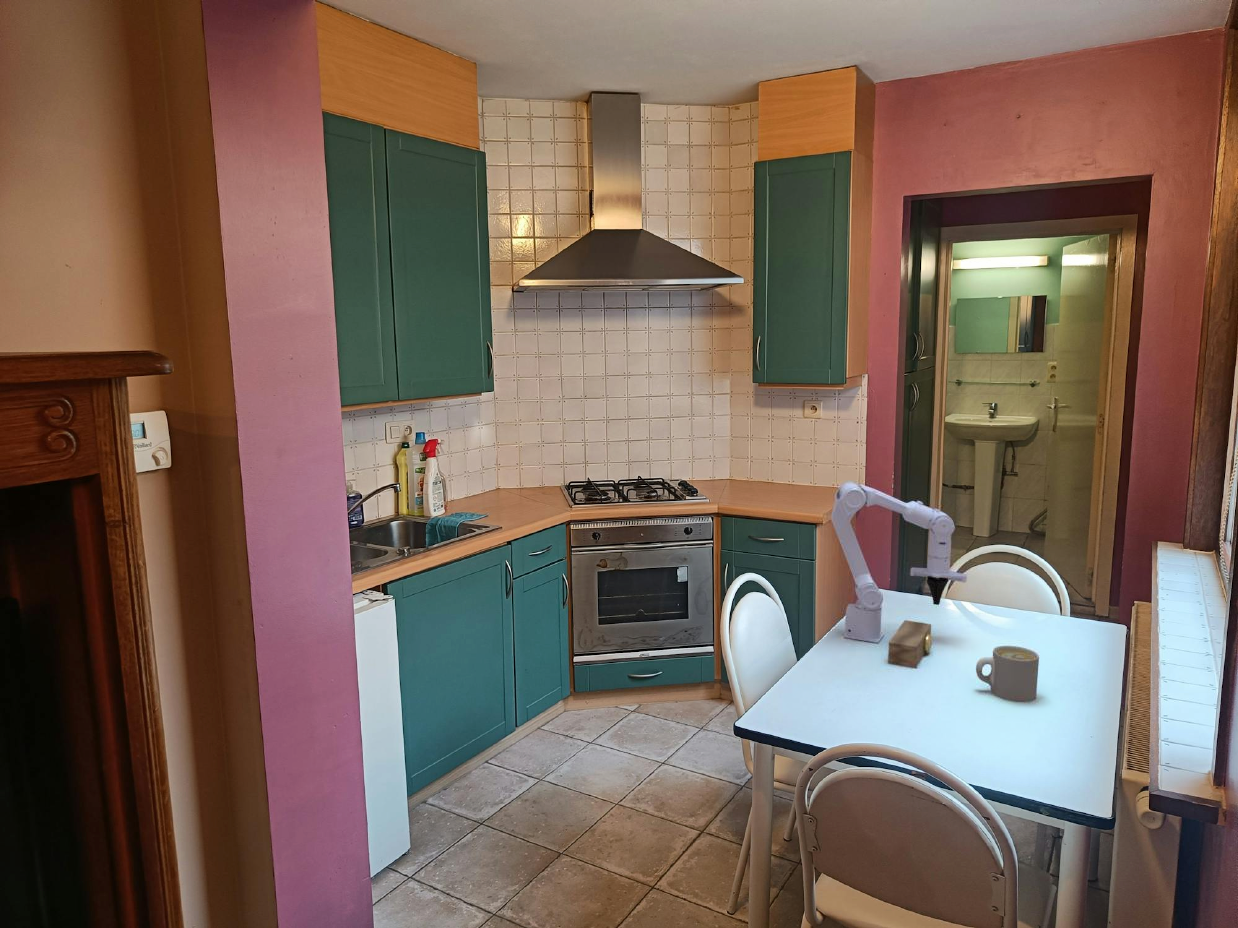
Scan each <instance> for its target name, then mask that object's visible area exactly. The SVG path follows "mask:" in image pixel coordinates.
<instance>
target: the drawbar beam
mask: <svg viewBox="0 0 1238 928" xmlns="http://www.w3.org/2000/svg"><path fill="white" fill-rule="evenodd" d="M931 633H932V624H931V623H925V622H920V621H919V622H918V621H912V620H907V619H905V620H904V621H903V622H902V623H901V625H900V627H899V628H898V629H897V630H896V631H895V633H894V634H895V635H892V637H891V639H890V640H889V641H888V653H887V663H888V664H891V665H897V666H898V665H899V666H904V667H907V668H913V669H917V668H918V665H919V664H920V662H921V660H922V658H923V656H924V655H925V653H926V652H924V650H923V646H924V638H925V635H926V634H929V635H931V636H932V634H931Z"/></svg>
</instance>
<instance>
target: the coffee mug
mask: <svg viewBox="0 0 1238 928" xmlns="http://www.w3.org/2000/svg"><path fill="white" fill-rule="evenodd" d="M1039 660H1040V655H1039V654H1038V653H1037V652H1036V651H1034V650H1031V649H1029V648H1026V647H1022V646H1015V645H998V646H996V647H994V648H993V650H992V657H991V656H990V657H988V656H987V657H982V658H980V659H978V661H977V662H976V665H975V666H976V667H975V670H976V671H975V672H976V676H977V678H978V679H979V680H980V681H982V682H983V683H986V684H988V685H989V686H990V692H991V694H992V695H994V696H996V697H998V698H999V699H1003V700H1006V701H1011V702H1016V703H1018V702H1019V703H1026V702H1031V701H1034V700H1036V698H1037V691H1038V690H1037V689H1038V677H1039V674H1038V673H1039V663H1040V661H1039ZM986 665H990V667H991V669H990V673H989V674H987V675H984V674H983V668H984V667H985V666H986Z"/></svg>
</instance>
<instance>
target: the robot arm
mask: <svg viewBox="0 0 1238 928" xmlns="http://www.w3.org/2000/svg"><path fill="white" fill-rule="evenodd" d="M864 505H865V506H866V507H871V506H875V505H878V506H880V507H883V508H886V509H888V510H891V511H893V512H895V513H899V514H902V517H903V519H904V520H905V521H906V522H909V523H911V524H913V525H916V526H918V527H920V528H923V529H925V530H928V529H929V539H928V552H927V553H928V554H927V568H926V567H911V568H910V570H909V571H910V573H909V575H910V576H911V577H924V578H927V579H926V584H927V585H928V588H929V590H930V594H931V596H932V602H933V605H934V606H935V605H936V606H940V603H941V598H942V595H943V593H944V591H945V588H946V586H947V585H948V583H949V581H954V582H961V583H963V584H964V583H965V584H966V582H967V577H968V574H967V573H962V572H961V573H960V572H956V571H951V569H950V568H951V551H952V534H953V533H954V531H955V529H956V526H955V523H954V520H953V519H952V518H951V517H950V516H949V515H948V514H947V513H945V512H943V511H942V510H940V509H938V508H936V507H935V508H932V507H929V506H928V505H927V506H926V505H924V503H923V502H922V501H920V500H917V501H914V500H911V501H909V502H905V501H902V500H900V499H898V498H896V497H893V496H891V495H889V494H887V493H884V492H882V491H880V490H877V489H875V488H873V487H869V486H867V485H863V484H858V483H857V482H854V481H845V482H844V483H842V484H841V485H840V487H839V488H838V489H837V491H836V492H835V496H834V502H833V507H832V512H831V515H830V518H831V523H832V525H833V528H834V530H835V533H836V535H837V537H838V539H839V541H838V542H839V543H840V545H841V548H842V550H843V553H844V557H845V558H846V562H847V564H848V567H849V569H850V571H851V574H852V576H853V580H854V584H855V587H854V591H855V594H856V597H857V600H856V601H855V602H854V603H848V604H847V607H846V610H845V623H844V624H845V625H844V628H845V629H844V635H843V636H844V638H847V639H852V640H859V641H864V642H871V643H874V644H875V643H876V644H878V643H880V641H881V640H882V639H883V637H884V636H885V632H881V629H882V613H883V611H882V610H883V609H882V608H883V606H882V604H883V602H884V596H883V593H882V591H880V590H879V587H878V585H877V583H876V582H875V581H874V579H873V578H872V576H871V573H870V570H869V567H868V565H867V562H866V560H865V557H864V554H863V552H862V549H861V546H860V545H859V544H860V543H859V541H858V539H857V537H856V534H855V532H854V528H853V526H852V524H851V521H852V519H853V517H854V516H855V514H856V513H857V512H858V511H859V510H861V509H862V507H864Z"/></svg>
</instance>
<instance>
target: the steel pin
mask: <svg viewBox="0 0 1238 928" xmlns="http://www.w3.org/2000/svg"><path fill="white" fill-rule="evenodd" d="M893 634H894V635H895V633H893ZM894 635H893V636H894ZM932 640H933V639H932V634H931V635H929V634H926V635H925V638H924V646H923V650H924V652H925V653H928V654H929V653H930V652H931V647H932Z"/></svg>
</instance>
